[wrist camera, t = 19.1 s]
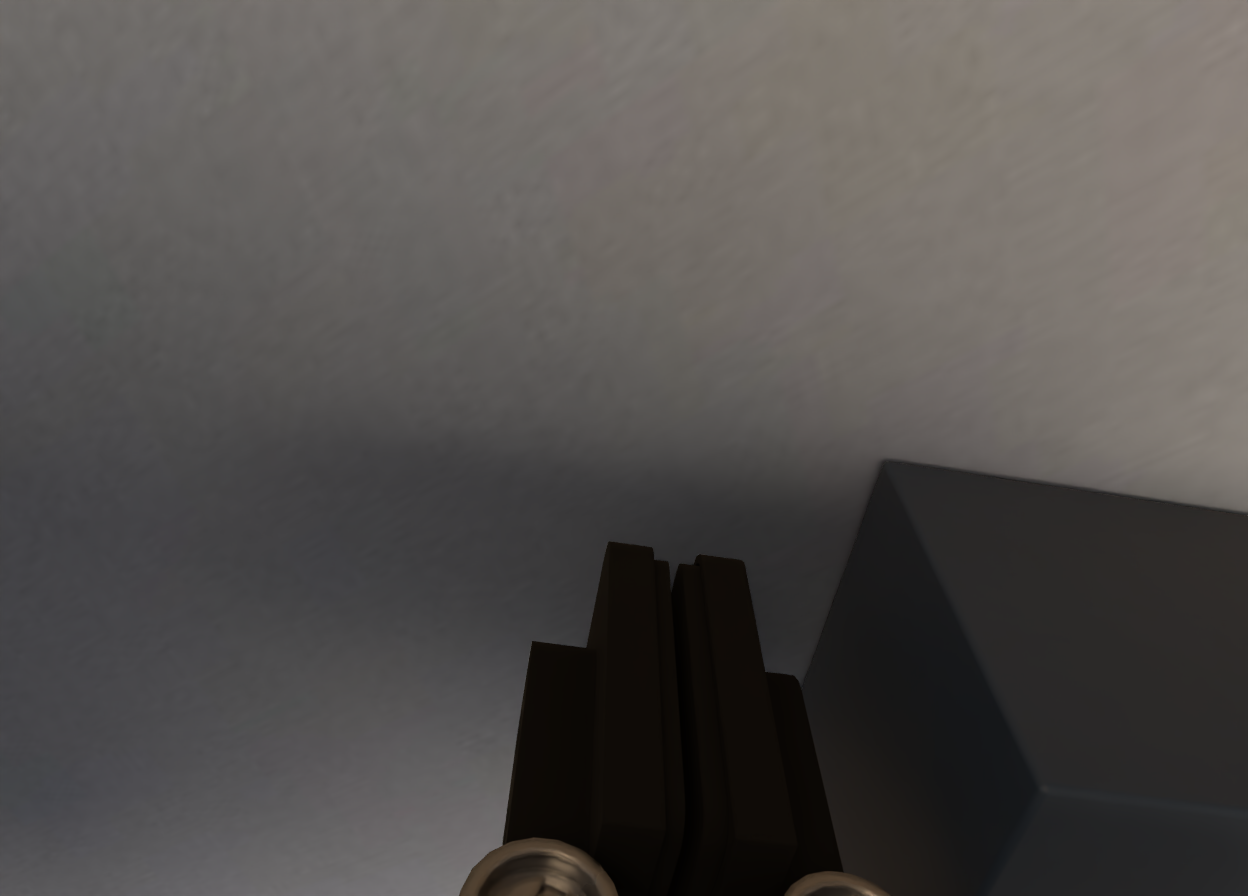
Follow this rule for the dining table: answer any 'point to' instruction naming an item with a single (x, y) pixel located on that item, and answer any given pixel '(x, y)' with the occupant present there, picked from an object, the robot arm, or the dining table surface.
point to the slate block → (1036, 693)
